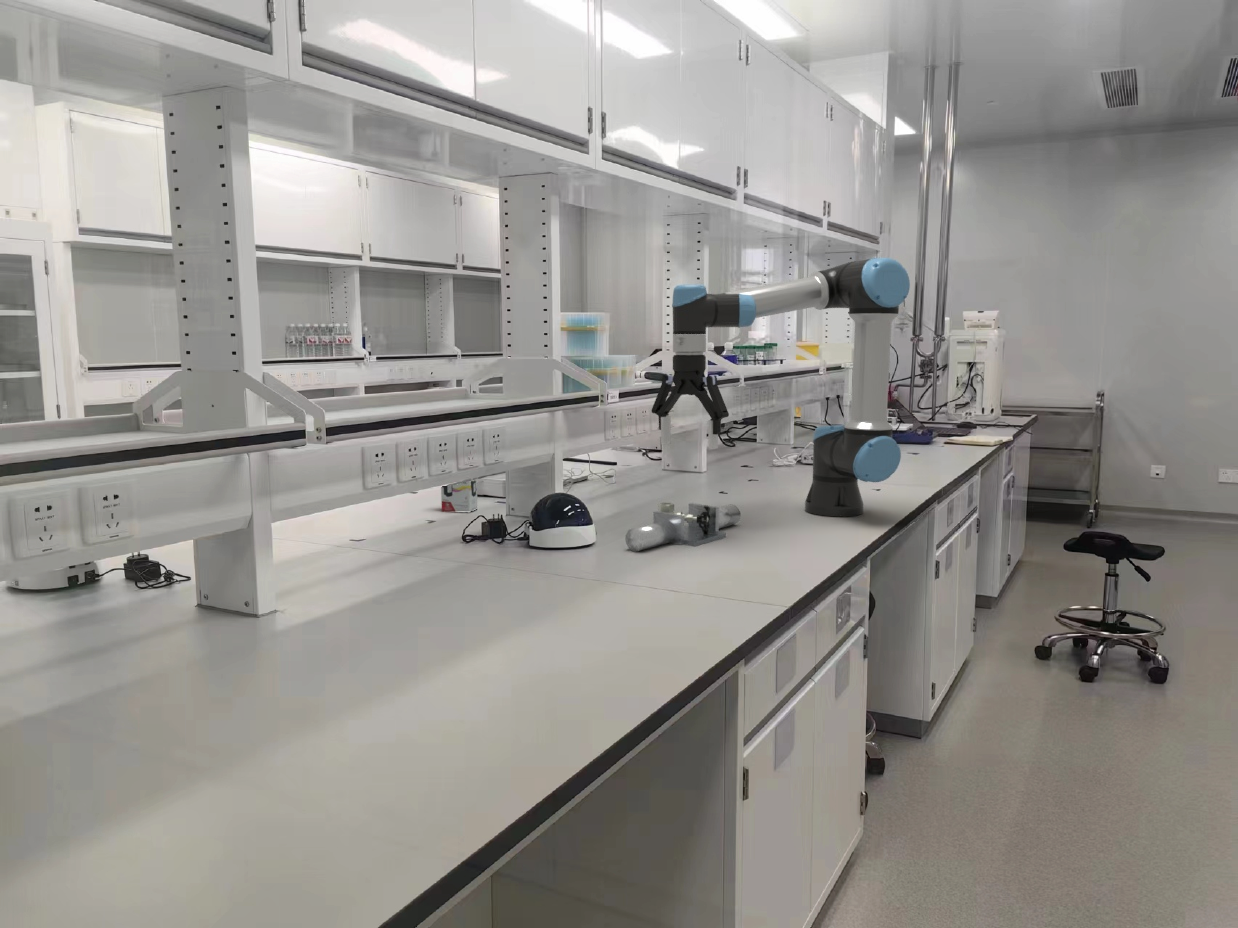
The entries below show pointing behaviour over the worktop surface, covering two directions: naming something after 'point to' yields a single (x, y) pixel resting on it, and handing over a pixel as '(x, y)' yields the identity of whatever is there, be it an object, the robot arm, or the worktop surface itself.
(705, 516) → the valve
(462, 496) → the ink box
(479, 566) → the worktop surface
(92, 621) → the worktop surface
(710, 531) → the pipe run
